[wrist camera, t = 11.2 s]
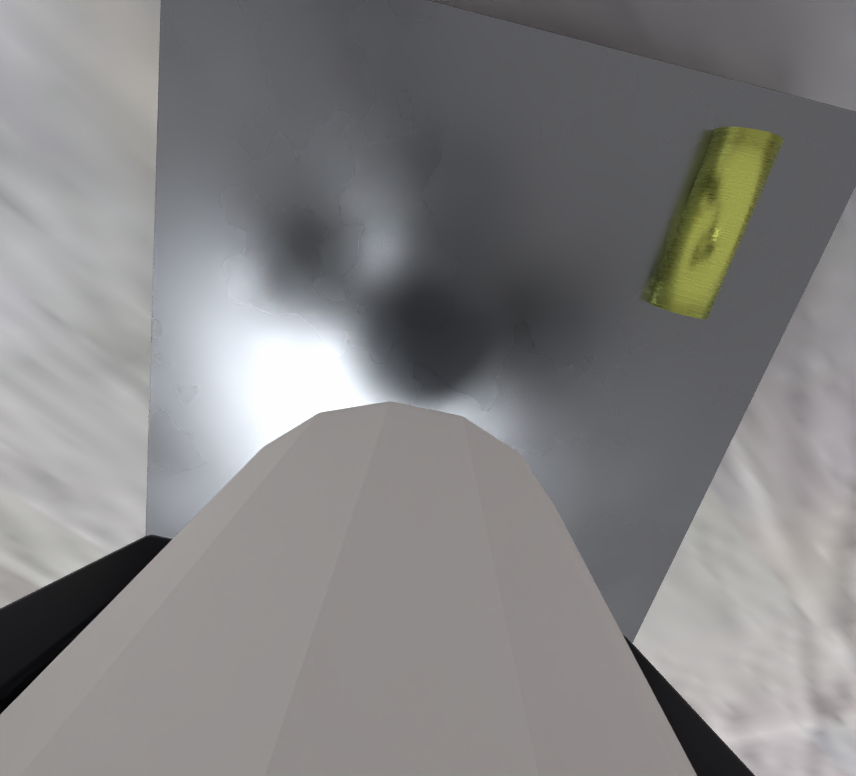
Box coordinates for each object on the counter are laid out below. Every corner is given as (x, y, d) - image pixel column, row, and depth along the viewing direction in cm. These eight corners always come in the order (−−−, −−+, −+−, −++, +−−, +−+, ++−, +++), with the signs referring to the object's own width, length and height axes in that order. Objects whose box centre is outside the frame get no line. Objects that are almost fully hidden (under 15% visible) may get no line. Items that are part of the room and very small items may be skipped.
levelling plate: (189, -44, 12) (135, -95, 10) (847, 126, 12) (927, 113, 10) (162, 577, 18) (125, 627, 16) (599, 660, 19) (618, 717, 17)
